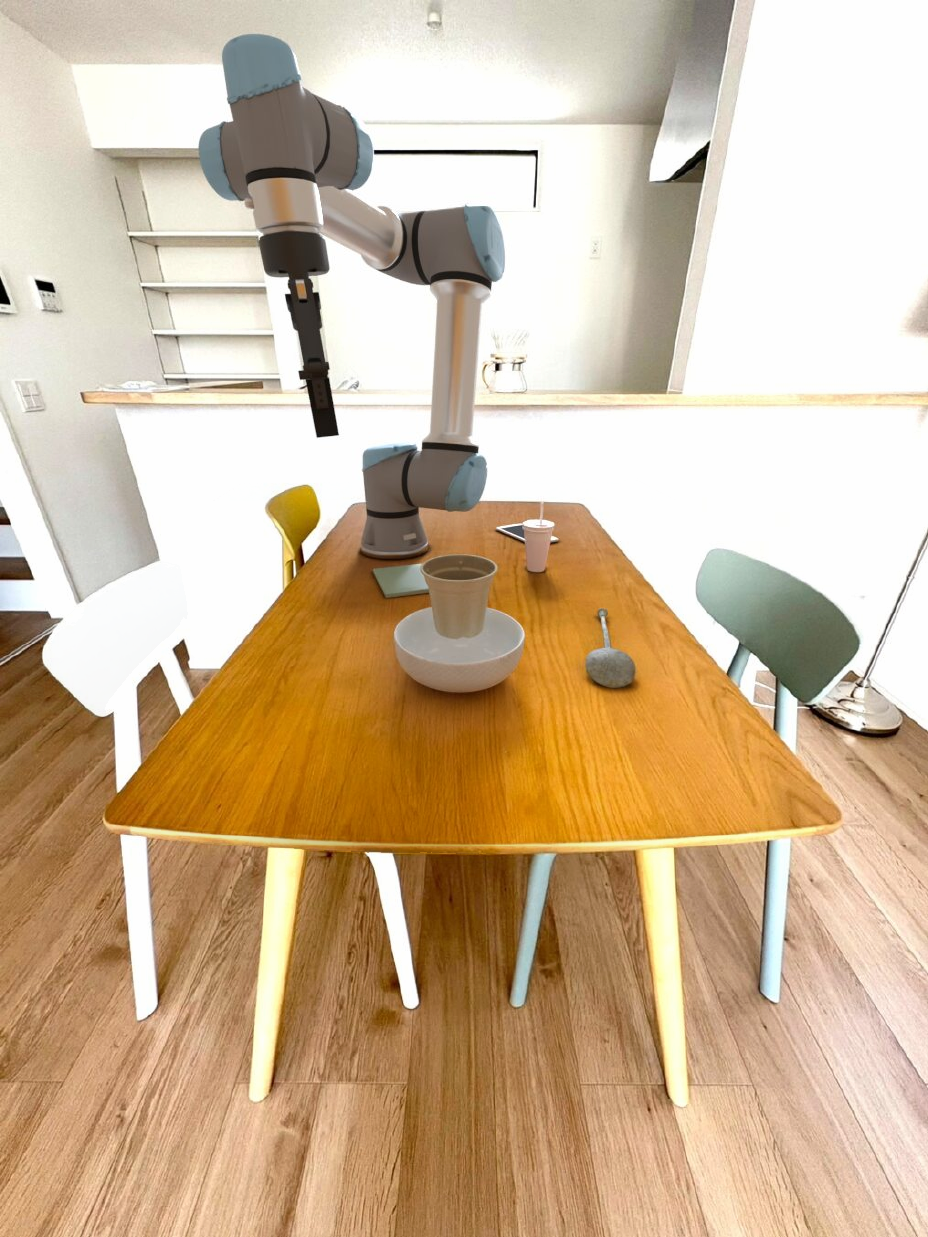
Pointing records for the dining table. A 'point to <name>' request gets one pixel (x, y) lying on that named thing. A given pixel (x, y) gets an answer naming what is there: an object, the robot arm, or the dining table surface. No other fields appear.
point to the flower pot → (459, 592)
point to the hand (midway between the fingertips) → (326, 428)
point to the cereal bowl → (459, 652)
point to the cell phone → (517, 532)
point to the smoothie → (537, 542)
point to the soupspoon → (609, 661)
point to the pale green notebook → (401, 580)
